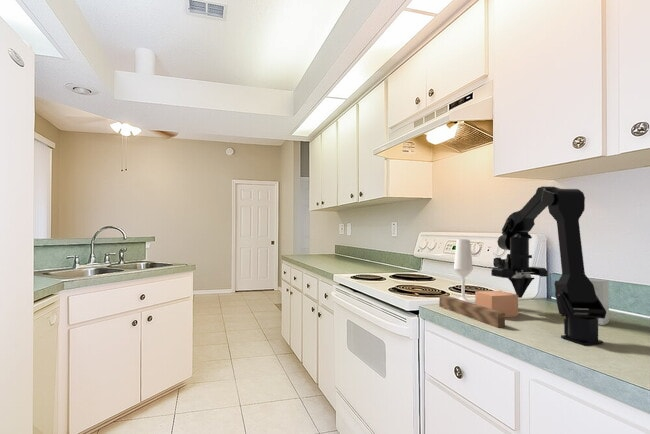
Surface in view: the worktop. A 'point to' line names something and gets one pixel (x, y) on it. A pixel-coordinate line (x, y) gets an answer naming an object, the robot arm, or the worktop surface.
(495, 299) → the brick
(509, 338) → the worktop surface
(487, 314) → the plank
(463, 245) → the champagne flute
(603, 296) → the small box
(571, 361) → the worktop surface
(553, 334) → the worktop surface
